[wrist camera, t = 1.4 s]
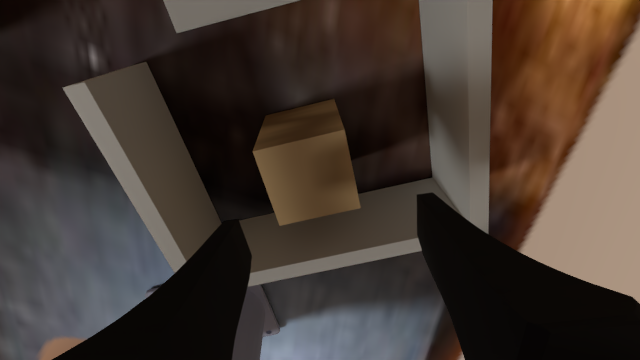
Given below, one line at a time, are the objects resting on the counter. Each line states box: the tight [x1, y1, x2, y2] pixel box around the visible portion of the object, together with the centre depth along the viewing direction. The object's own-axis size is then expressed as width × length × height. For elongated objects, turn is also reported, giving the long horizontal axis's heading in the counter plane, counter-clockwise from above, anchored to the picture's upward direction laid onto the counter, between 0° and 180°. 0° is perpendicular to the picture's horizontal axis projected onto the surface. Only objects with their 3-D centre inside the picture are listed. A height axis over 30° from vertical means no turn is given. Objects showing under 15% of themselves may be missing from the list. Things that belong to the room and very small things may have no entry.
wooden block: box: [253, 99, 361, 226], centre depth 19 cm, size 4×4×6 cm
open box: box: [63, 0, 493, 287], centre depth 19 cm, size 18×13×6 cm
